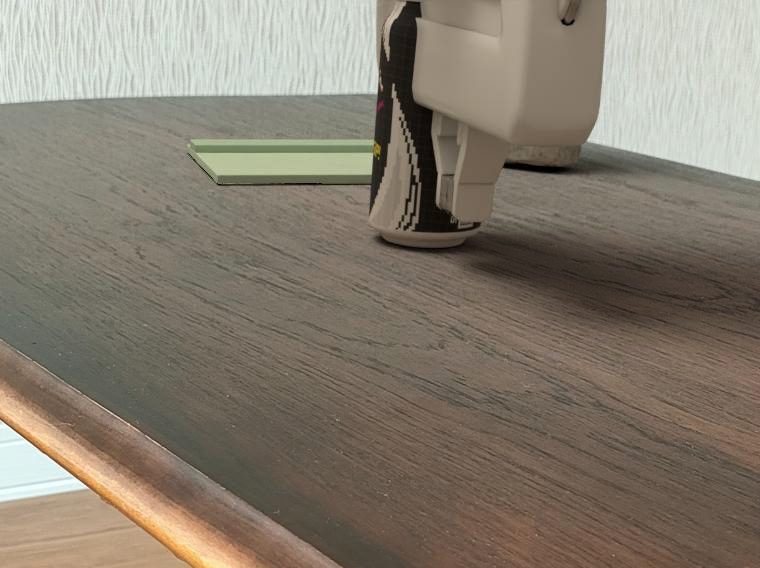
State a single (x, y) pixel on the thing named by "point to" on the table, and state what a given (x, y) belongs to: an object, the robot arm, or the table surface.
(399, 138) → the beverage can
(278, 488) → the table surface
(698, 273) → the table surface
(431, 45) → the robot arm
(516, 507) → the table surface
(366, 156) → the green tray
